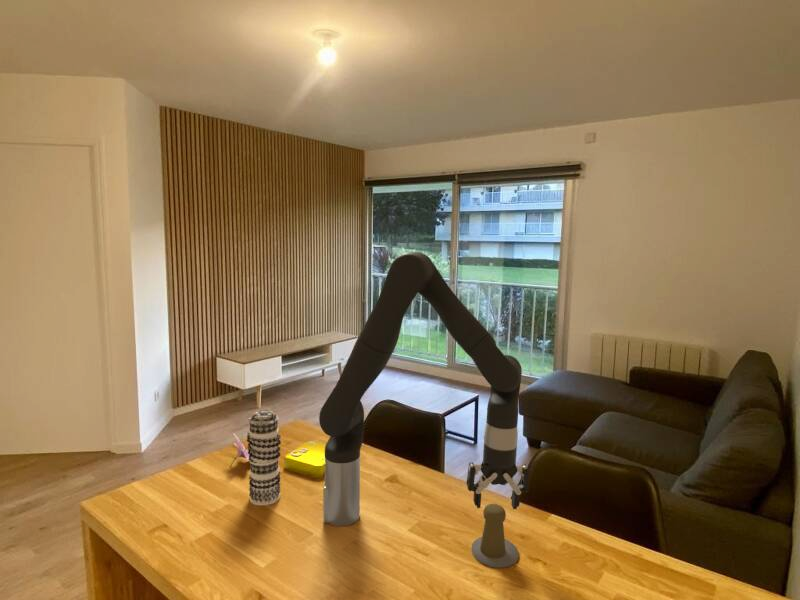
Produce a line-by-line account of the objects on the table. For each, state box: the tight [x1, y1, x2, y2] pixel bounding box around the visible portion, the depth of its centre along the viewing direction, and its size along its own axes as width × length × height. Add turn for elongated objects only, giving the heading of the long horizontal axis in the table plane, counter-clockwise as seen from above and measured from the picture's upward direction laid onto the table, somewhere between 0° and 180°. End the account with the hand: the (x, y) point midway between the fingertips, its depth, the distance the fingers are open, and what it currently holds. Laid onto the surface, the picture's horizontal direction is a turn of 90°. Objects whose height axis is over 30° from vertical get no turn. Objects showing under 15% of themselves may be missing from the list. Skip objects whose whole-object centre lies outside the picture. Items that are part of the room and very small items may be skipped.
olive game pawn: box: [480, 503, 507, 558], centre depth 113 cm, size 6×6×11 cm
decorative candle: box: [246, 409, 282, 507], centre depth 134 cm, size 9×9×25 cm
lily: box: [229, 432, 249, 468], centre depth 154 cm, size 12×12×10 cm
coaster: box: [471, 536, 519, 569], centre depth 114 cm, size 11×11×1 cm
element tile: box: [283, 440, 327, 479], centre depth 157 cm, size 15×15×5 cm
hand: (496, 506), depth 113 cm, fingers open, 8 cm apart
